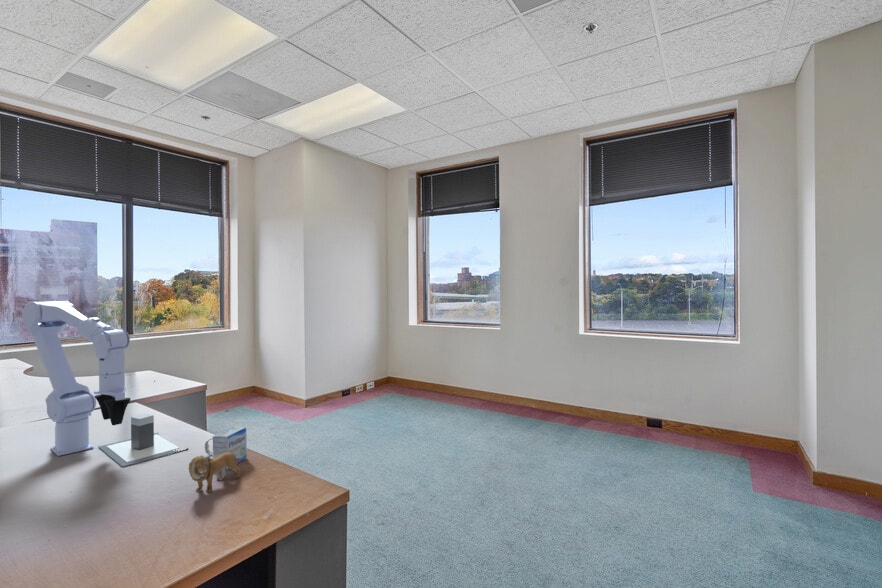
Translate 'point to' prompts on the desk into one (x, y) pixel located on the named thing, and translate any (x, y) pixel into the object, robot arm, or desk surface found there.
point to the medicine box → (231, 443)
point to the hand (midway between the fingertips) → (112, 421)
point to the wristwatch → (207, 448)
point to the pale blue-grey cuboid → (142, 431)
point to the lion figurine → (211, 468)
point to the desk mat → (138, 451)
